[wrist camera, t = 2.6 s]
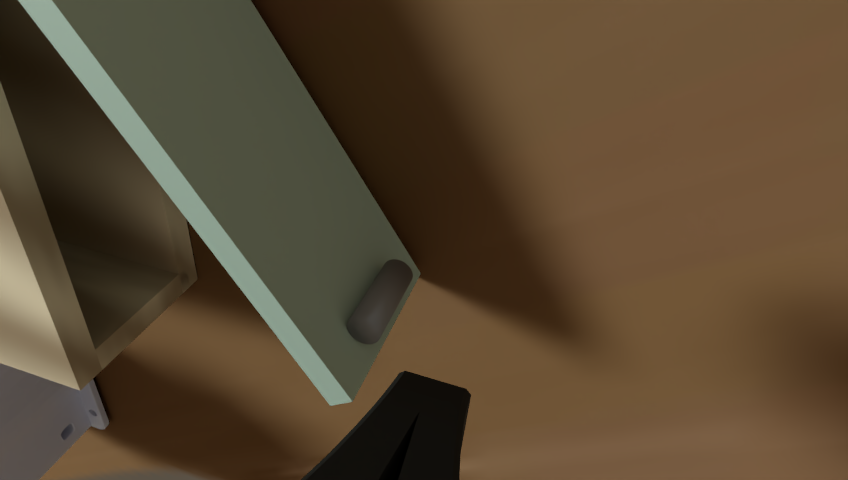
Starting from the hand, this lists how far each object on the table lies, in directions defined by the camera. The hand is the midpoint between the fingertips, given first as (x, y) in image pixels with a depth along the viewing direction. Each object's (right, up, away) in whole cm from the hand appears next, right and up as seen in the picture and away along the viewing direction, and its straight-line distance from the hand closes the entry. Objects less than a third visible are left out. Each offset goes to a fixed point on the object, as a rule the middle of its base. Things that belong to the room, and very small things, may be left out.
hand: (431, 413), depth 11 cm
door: (-4, +9, +6) cm, 11 cm away
